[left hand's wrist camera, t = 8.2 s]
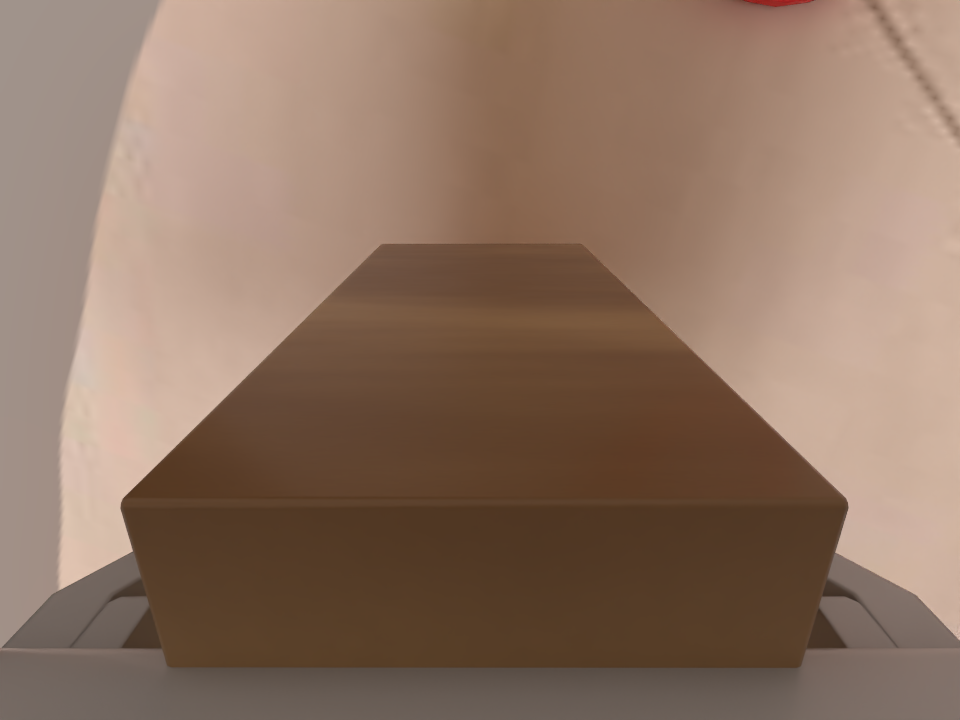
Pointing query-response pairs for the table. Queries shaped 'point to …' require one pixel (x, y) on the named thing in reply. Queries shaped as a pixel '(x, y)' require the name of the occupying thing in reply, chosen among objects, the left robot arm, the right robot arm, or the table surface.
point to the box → (483, 487)
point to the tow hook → (778, 2)
